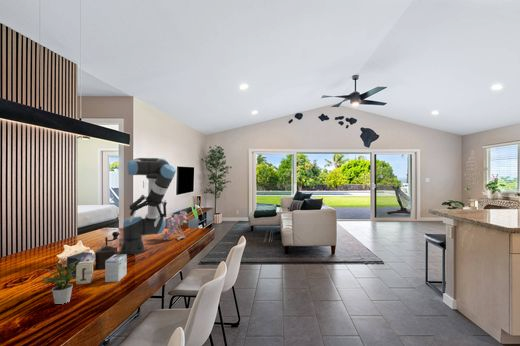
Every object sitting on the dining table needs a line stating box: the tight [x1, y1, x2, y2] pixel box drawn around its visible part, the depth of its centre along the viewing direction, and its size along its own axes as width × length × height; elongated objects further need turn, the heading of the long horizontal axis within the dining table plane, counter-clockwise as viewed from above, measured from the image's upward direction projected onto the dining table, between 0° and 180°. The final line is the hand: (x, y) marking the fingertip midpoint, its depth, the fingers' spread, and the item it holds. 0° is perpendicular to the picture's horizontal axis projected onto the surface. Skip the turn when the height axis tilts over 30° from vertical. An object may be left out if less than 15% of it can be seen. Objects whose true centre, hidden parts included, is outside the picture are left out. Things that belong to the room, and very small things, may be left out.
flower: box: [161, 208, 188, 241], centre depth 232 cm, size 20×22×25 cm
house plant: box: [39, 261, 77, 305], centre depth 119 cm, size 14×14×16 cm
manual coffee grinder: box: [94, 231, 120, 270], centre depth 167 cm, size 16×11×18 cm
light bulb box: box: [104, 253, 128, 283], centre depth 145 cm, size 11×7×11 cm, turn 5°
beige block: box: [75, 260, 94, 285], centre depth 141 cm, size 6×6×9 cm
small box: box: [66, 251, 93, 279], centre depth 150 cm, size 11×6×10 cm, turn 168°
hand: (142, 223), depth 159 cm, fingers open, 13 cm apart
